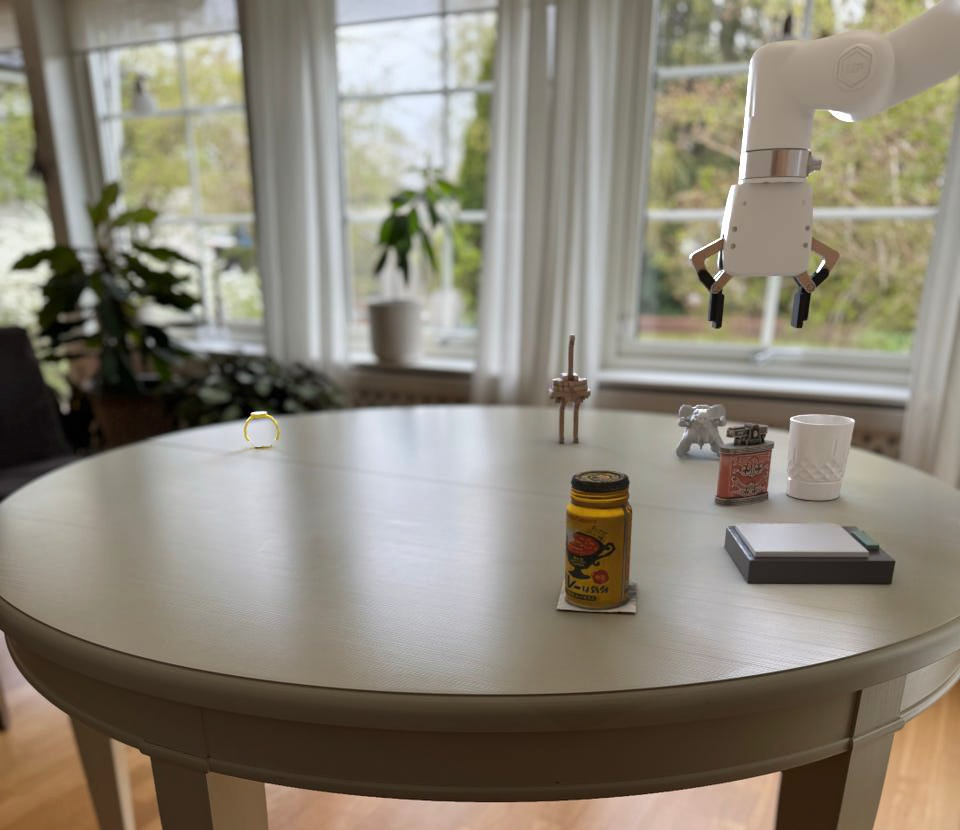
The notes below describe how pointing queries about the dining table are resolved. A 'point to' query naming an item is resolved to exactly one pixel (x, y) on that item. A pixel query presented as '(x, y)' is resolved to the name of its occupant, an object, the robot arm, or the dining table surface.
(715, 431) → the elephant statuette
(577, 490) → the condiment
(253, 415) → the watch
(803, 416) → the white cup
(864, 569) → the scale
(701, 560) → the dining table surface
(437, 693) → the dining table surface
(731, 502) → the lighter
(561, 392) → the ostrich figurine
